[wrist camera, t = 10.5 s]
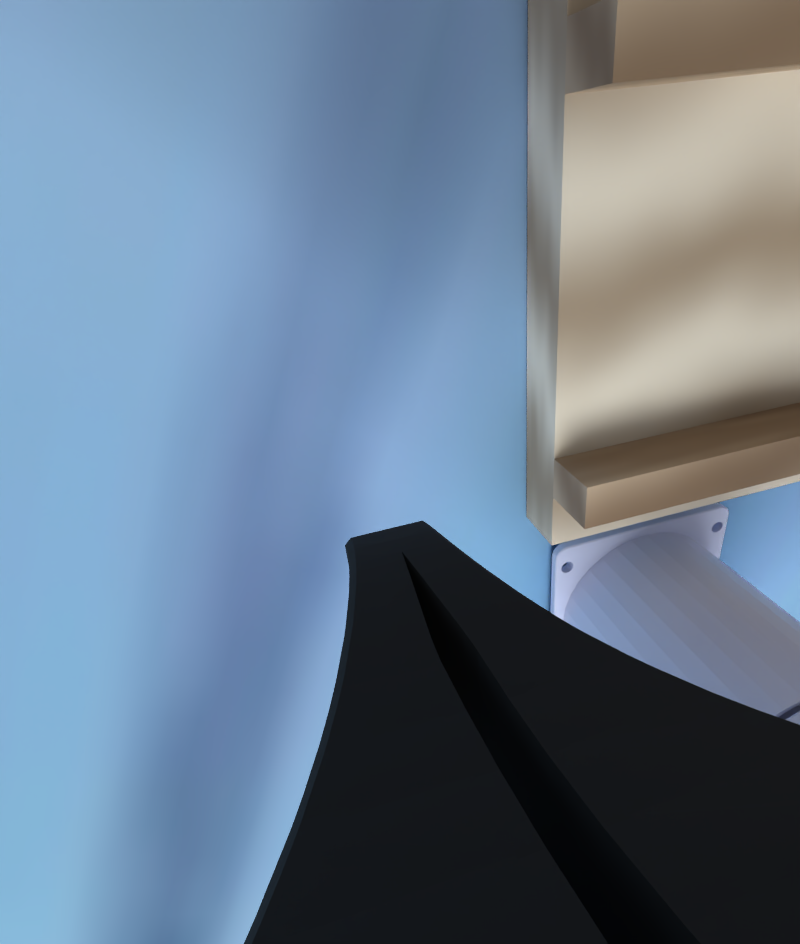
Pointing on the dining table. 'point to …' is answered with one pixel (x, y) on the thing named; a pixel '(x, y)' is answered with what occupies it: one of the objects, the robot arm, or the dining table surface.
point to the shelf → (660, 257)
